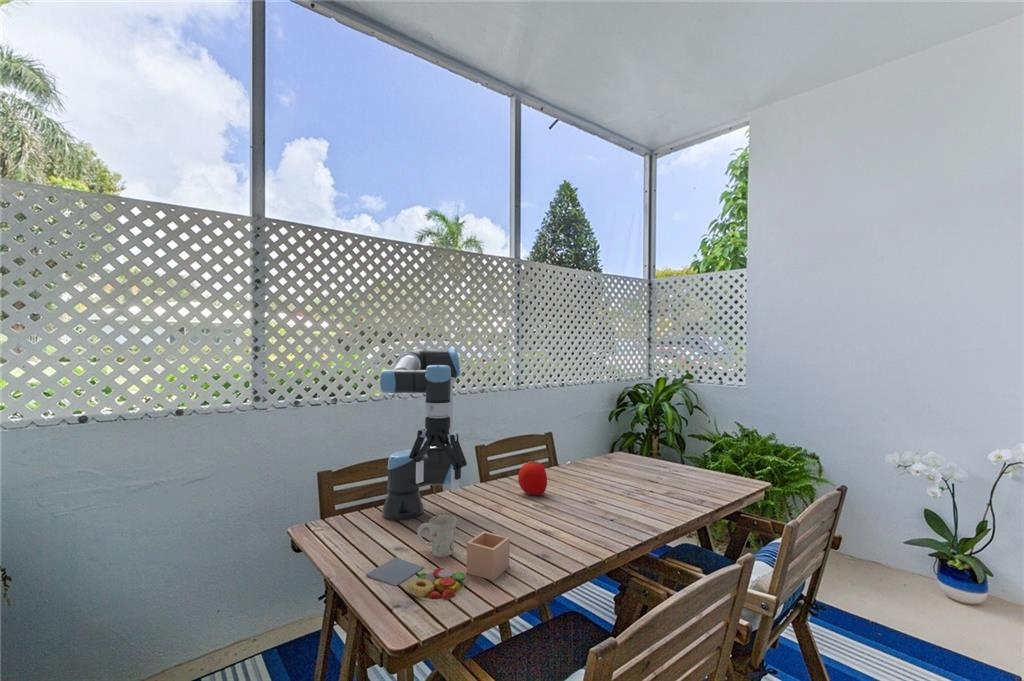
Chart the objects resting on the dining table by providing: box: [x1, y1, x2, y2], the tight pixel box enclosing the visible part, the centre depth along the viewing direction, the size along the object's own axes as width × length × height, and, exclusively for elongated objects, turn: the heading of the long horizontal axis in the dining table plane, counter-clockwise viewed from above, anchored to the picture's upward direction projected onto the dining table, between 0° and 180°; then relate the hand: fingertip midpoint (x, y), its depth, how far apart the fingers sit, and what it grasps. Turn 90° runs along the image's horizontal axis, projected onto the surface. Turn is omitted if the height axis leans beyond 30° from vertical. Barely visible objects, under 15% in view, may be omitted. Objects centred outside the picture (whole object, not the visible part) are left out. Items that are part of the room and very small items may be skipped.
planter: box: [466, 530, 511, 581], centre depth 122 cm, size 9×9×9 cm
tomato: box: [517, 460, 548, 496], centre depth 186 cm, size 13×11×14 cm
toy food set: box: [407, 567, 467, 603], centre depth 114 cm, size 13×13×3 cm
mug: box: [416, 514, 458, 558], centre depth 134 cm, size 8×13×10 cm, turn 78°
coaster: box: [365, 557, 425, 587], centre depth 122 cm, size 11×11×1 cm
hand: (436, 486), depth 134 cm, fingers open, 13 cm apart
